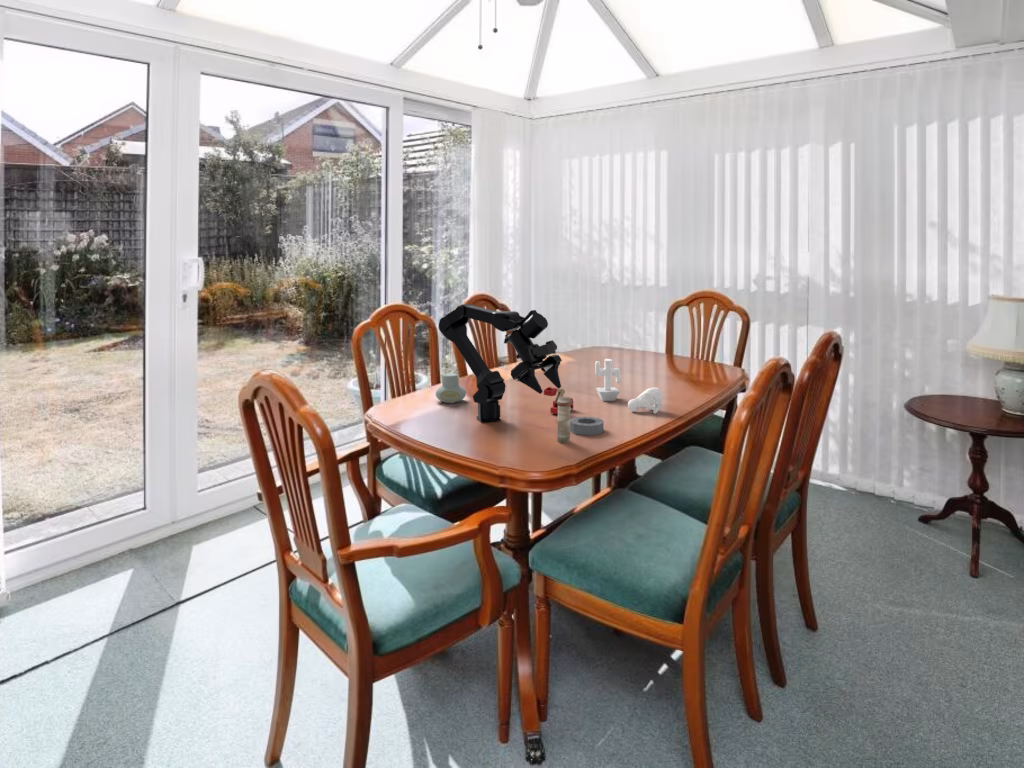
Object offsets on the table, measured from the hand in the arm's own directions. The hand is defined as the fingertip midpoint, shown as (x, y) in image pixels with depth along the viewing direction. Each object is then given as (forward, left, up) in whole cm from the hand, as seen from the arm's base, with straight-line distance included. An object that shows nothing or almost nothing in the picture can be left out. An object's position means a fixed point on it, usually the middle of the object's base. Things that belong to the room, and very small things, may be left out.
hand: (550, 390), depth 191 cm
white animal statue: (+40, +13, -14) cm, 44 cm away
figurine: (+36, +33, -14) cm, 51 cm away
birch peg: (+1, -9, -13) cm, 16 cm away
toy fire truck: (+12, +21, -14) cm, 28 cm away
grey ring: (+12, -1, -13) cm, 18 cm away
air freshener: (-19, +49, -14) cm, 55 cm away
